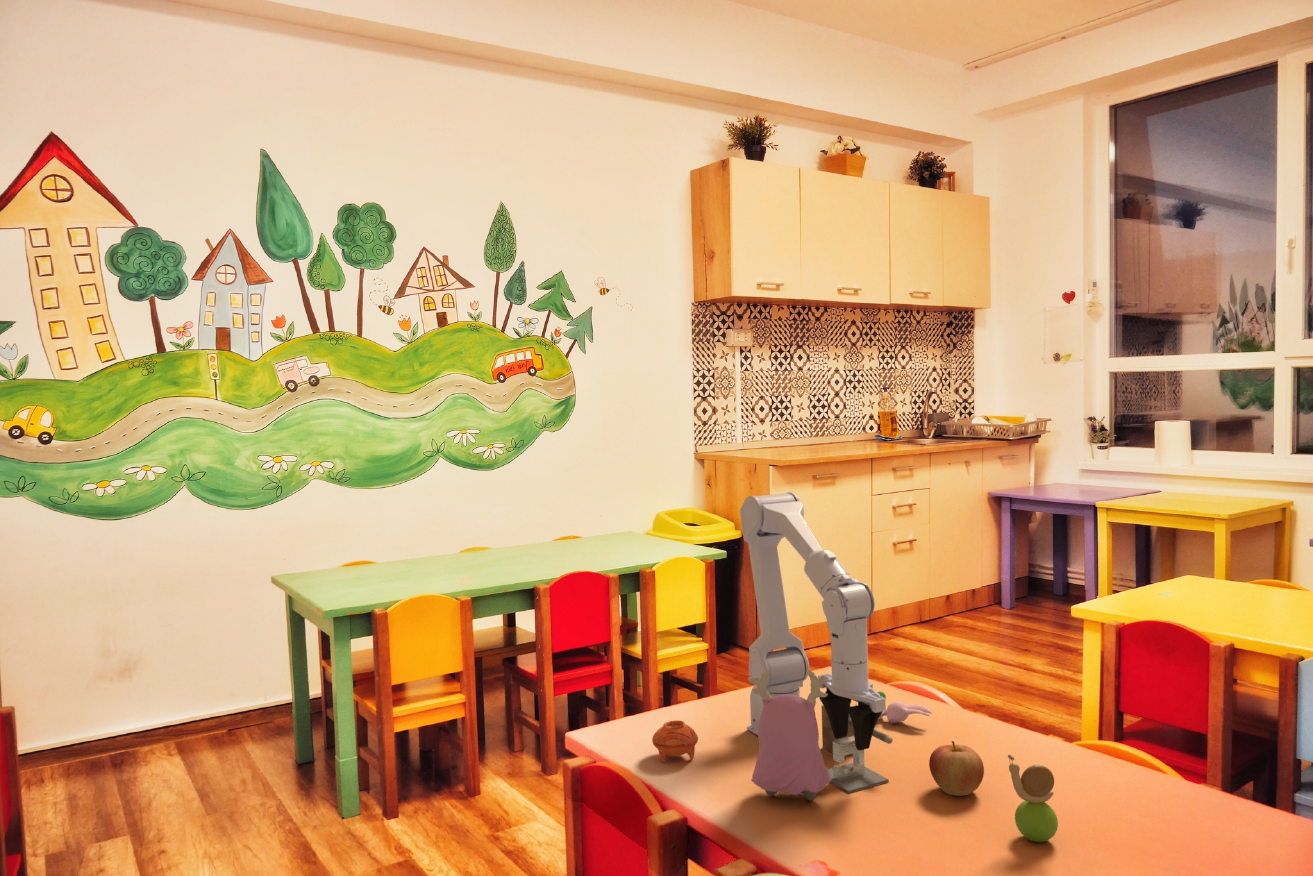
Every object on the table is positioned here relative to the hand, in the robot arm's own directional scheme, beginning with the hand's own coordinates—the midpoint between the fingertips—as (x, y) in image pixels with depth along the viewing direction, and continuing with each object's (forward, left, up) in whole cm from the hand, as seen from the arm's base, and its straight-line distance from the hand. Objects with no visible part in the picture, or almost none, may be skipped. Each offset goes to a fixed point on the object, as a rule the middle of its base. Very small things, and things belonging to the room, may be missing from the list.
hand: (851, 742), depth 143 cm
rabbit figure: (-16, +22, -6) cm, 28 cm away
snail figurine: (+28, +8, -6) cm, 30 cm away
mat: (0, 0, -6) cm, 6 cm away
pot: (-22, -21, -6) cm, 31 cm away
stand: (-5, +6, -6) cm, 9 cm away
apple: (+12, +10, -6) cm, 17 cm away
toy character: (0, -12, -6) cm, 14 cm away
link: (0, -1, -5) cm, 5 cm away
